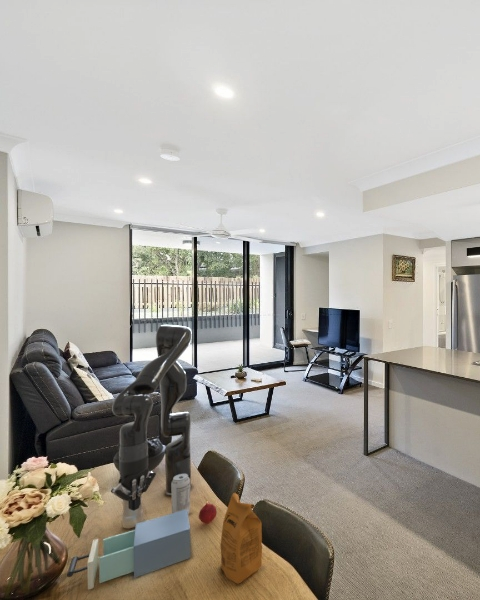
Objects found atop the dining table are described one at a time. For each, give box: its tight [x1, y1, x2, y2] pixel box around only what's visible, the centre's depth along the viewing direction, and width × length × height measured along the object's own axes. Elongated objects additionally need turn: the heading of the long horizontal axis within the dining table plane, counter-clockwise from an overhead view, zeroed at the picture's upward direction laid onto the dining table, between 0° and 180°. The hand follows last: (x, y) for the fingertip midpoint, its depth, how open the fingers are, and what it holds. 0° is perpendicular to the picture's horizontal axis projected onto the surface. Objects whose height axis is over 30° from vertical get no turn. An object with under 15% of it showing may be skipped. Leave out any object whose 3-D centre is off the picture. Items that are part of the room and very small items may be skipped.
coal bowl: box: [112, 432, 166, 472], centre depth 169 cm, size 20×20×19 cm
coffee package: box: [219, 492, 263, 585], centre depth 111 cm, size 10×12×22 cm
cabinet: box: [133, 509, 191, 578], centre depth 117 cm, size 15×13×10 cm
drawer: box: [66, 529, 135, 591], centre depth 110 cm, size 18×11×8 cm, turn 124°
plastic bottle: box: [121, 486, 145, 529], centre depth 132 cm, size 6×7×20 cm
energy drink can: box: [171, 474, 191, 515], centre depth 138 cm, size 6×6×15 cm
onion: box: [198, 501, 218, 525], centre depth 133 cm, size 6×6×8 cm
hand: (134, 508), depth 116 cm, fingers closed
